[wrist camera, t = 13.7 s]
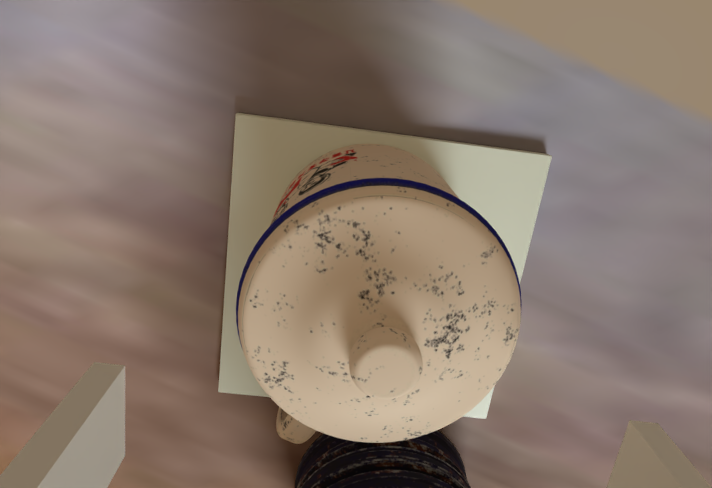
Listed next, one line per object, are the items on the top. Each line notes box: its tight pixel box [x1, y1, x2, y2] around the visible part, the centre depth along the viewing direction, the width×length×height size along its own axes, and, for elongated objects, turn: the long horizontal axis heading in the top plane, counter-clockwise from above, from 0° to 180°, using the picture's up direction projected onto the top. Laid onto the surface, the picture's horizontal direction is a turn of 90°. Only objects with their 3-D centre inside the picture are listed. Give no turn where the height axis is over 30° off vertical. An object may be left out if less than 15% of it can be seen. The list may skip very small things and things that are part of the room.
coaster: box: [218, 113, 552, 419], centre depth 27 cm, size 14×14×1 cm
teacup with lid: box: [236, 144, 521, 444], centre depth 21 cm, size 12×9×12 cm
